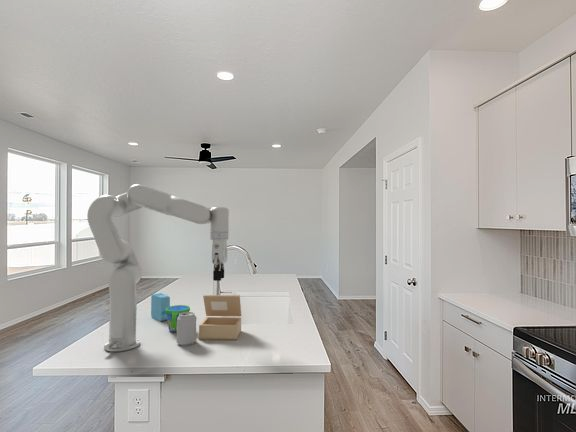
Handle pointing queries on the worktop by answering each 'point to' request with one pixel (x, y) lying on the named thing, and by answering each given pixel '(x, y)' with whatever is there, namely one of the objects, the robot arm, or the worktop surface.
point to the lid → (222, 305)
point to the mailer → (220, 328)
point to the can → (186, 328)
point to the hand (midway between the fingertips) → (218, 278)
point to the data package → (159, 306)
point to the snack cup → (175, 315)
